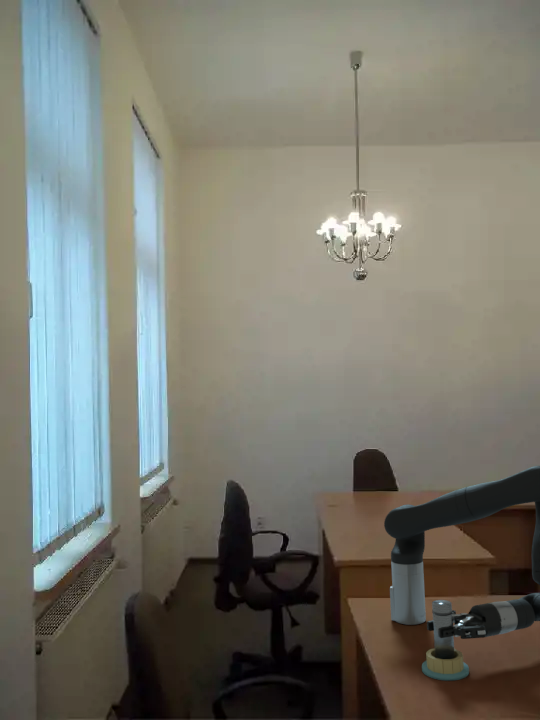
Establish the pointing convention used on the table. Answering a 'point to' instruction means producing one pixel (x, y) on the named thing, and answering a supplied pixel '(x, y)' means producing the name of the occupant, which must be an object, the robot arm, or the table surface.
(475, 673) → the table surface
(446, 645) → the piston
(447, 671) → the ring collar
